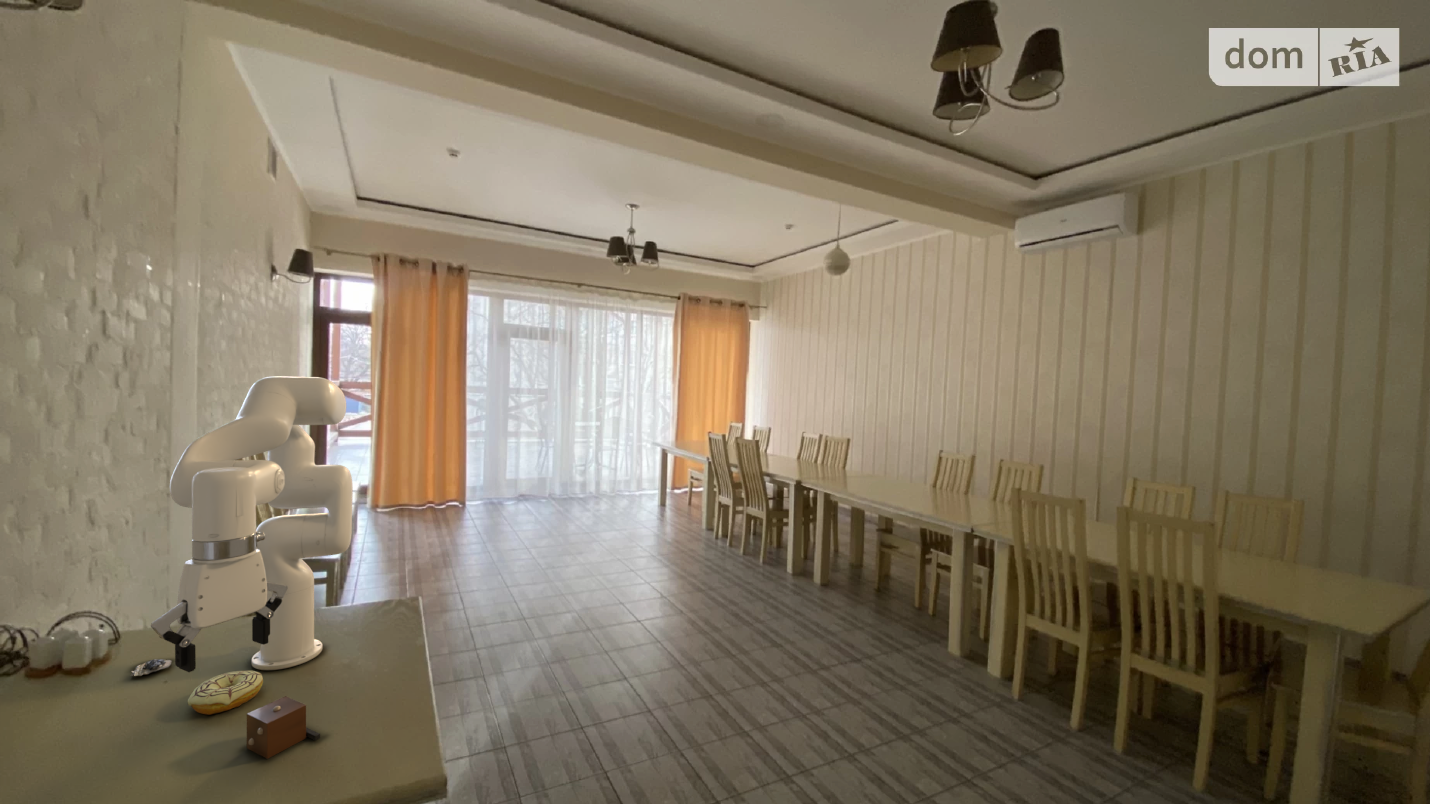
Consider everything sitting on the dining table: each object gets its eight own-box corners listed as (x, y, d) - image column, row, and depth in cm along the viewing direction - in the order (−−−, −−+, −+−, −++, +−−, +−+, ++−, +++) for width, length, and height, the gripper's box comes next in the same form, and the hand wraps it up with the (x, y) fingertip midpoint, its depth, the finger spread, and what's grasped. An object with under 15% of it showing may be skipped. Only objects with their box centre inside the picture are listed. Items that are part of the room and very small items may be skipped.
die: (241, 749, 95) (241, 711, 95) (284, 727, 101) (284, 692, 101) (263, 761, 92) (263, 722, 92) (306, 738, 98) (306, 702, 98)
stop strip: (281, 724, 102) (281, 720, 102) (286, 722, 103) (285, 717, 103) (315, 740, 98) (315, 736, 98) (320, 738, 98) (320, 733, 98)
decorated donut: (173, 717, 103) (172, 697, 103) (220, 685, 114) (220, 667, 113) (233, 716, 104) (233, 696, 103) (275, 684, 114) (274, 666, 114)
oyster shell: (134, 681, 114) (134, 672, 114) (121, 670, 118) (121, 661, 118) (179, 667, 120) (178, 658, 120) (164, 657, 124) (164, 648, 124)
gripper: (272, 531, 97) (272, 629, 98) (138, 559, 81) (139, 675, 82) (299, 537, 94) (299, 637, 95) (166, 567, 78) (167, 687, 79)
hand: (225, 655), depth 88 cm, fingers open, 9 cm apart
